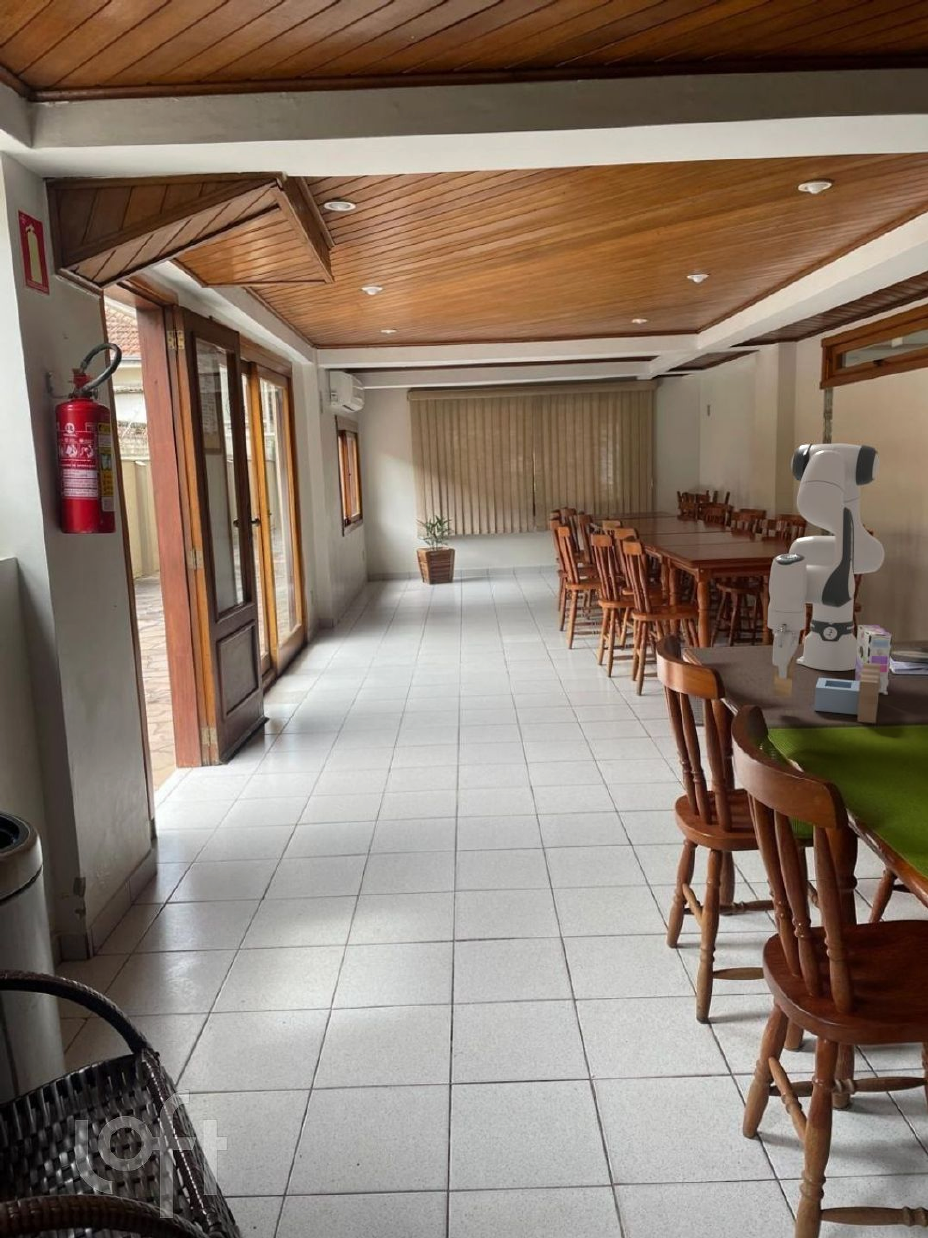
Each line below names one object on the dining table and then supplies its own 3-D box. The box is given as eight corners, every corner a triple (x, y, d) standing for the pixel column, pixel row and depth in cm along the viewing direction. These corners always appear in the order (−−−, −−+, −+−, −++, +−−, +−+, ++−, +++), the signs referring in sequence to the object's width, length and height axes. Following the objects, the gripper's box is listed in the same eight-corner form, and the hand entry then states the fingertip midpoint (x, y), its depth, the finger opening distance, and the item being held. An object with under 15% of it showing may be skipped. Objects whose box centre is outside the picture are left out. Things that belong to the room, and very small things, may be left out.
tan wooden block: (776, 691, 227) (777, 653, 225) (792, 693, 225) (794, 654, 223) (773, 696, 223) (775, 657, 221) (790, 697, 222) (792, 658, 220)
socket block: (817, 699, 234) (819, 677, 233) (859, 703, 230) (860, 681, 229) (814, 710, 225) (815, 687, 224) (857, 714, 221) (859, 691, 220)
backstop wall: (861, 699, 234) (863, 662, 232) (878, 701, 232) (880, 663, 230) (857, 721, 216) (859, 681, 215) (875, 723, 215) (878, 682, 213)
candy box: (888, 695, 237) (892, 634, 234) (865, 694, 239) (868, 634, 236) (876, 681, 251) (879, 624, 248) (853, 681, 252) (857, 623, 249)
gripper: (795, 630, 210) (792, 687, 213) (804, 613, 228) (802, 666, 231) (767, 628, 213) (765, 684, 216) (778, 612, 231) (776, 664, 233)
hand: (784, 675), depth 223 cm, fingers closed on tan wooden block, 4 cm apart
